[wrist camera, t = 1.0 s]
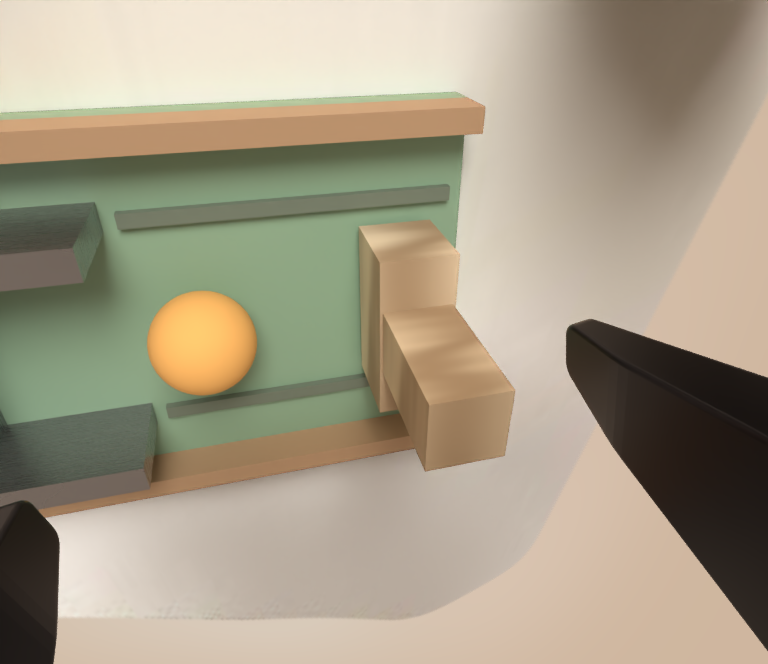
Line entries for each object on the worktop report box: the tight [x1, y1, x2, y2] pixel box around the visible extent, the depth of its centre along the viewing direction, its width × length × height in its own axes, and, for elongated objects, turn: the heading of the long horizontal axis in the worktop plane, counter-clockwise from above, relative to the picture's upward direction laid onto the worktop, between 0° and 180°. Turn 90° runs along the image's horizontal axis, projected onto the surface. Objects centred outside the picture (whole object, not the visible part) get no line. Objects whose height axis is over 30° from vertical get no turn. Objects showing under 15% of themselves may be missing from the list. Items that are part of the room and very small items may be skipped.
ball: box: [147, 291, 257, 395], centre depth 19 cm, size 4×4×4 cm
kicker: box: [359, 219, 515, 471], centre depth 18 cm, size 3×6×8 cm, turn 0°
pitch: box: [0, 92, 485, 518], centre depth 20 cm, size 18×14×2 cm
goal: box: [0, 202, 158, 510], centre depth 18 cm, size 6×9×4 cm, turn 0°
